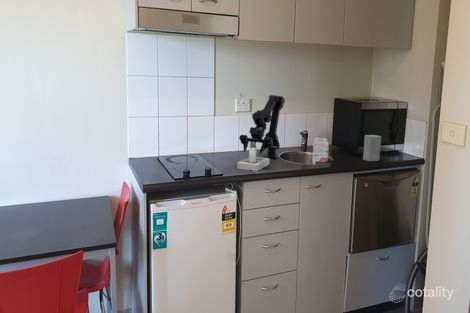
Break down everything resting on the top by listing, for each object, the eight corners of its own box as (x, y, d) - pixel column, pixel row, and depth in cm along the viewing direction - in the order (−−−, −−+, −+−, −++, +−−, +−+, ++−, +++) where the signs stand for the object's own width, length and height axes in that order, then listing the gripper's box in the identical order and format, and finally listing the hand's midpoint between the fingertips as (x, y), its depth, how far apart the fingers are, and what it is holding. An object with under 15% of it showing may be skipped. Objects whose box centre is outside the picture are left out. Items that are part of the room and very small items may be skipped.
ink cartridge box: (327, 161, 263) (329, 137, 260) (325, 162, 259) (327, 138, 256) (314, 159, 267) (316, 136, 264) (312, 160, 263) (313, 137, 260)
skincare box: (369, 161, 264) (371, 136, 261) (361, 159, 271) (363, 134, 267) (380, 161, 268) (382, 136, 264) (372, 158, 274) (374, 134, 271)
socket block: (250, 161, 255) (250, 155, 255) (269, 164, 251) (269, 157, 250) (236, 168, 238) (237, 161, 237) (257, 171, 233) (257, 164, 232)
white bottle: (247, 167, 241) (248, 141, 238) (254, 167, 242) (255, 141, 239) (249, 169, 237) (250, 142, 234) (256, 169, 238) (257, 142, 235)
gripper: (240, 120, 242) (232, 142, 234) (272, 122, 234) (264, 145, 227) (245, 132, 250) (237, 154, 243) (276, 135, 243) (268, 157, 235)
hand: (251, 152), depth 237 cm, fingers open, 9 cm apart
